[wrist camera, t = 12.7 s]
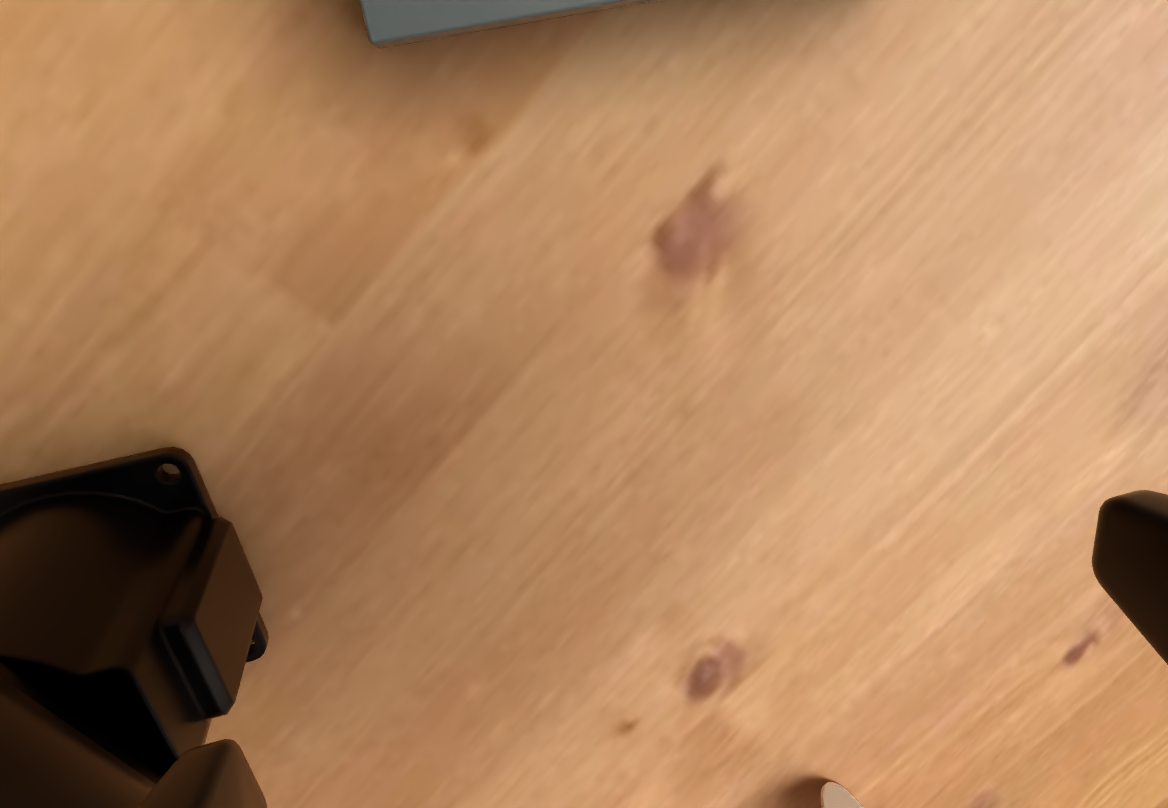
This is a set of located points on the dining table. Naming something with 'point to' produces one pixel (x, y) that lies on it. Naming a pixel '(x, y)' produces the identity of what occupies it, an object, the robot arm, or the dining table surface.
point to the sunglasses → (837, 797)
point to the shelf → (463, 16)
